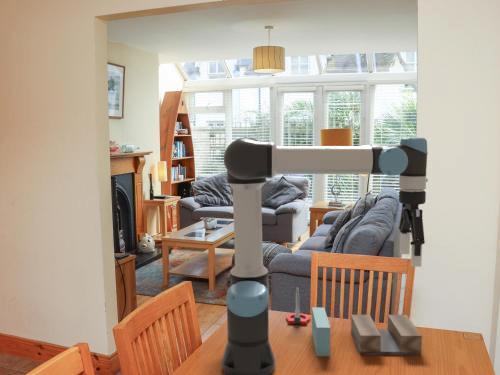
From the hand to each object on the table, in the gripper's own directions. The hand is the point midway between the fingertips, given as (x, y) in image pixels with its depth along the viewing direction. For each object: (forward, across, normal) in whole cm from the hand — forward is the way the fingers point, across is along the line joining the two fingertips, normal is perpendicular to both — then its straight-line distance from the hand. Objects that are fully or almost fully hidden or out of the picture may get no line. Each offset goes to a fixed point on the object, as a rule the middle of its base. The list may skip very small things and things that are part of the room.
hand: (410, 259), depth 144 cm
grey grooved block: (+28, +2, +6) cm, 28 cm away
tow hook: (+28, +19, +33) cm, 48 cm away
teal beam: (+28, +1, +26) cm, 38 cm away
